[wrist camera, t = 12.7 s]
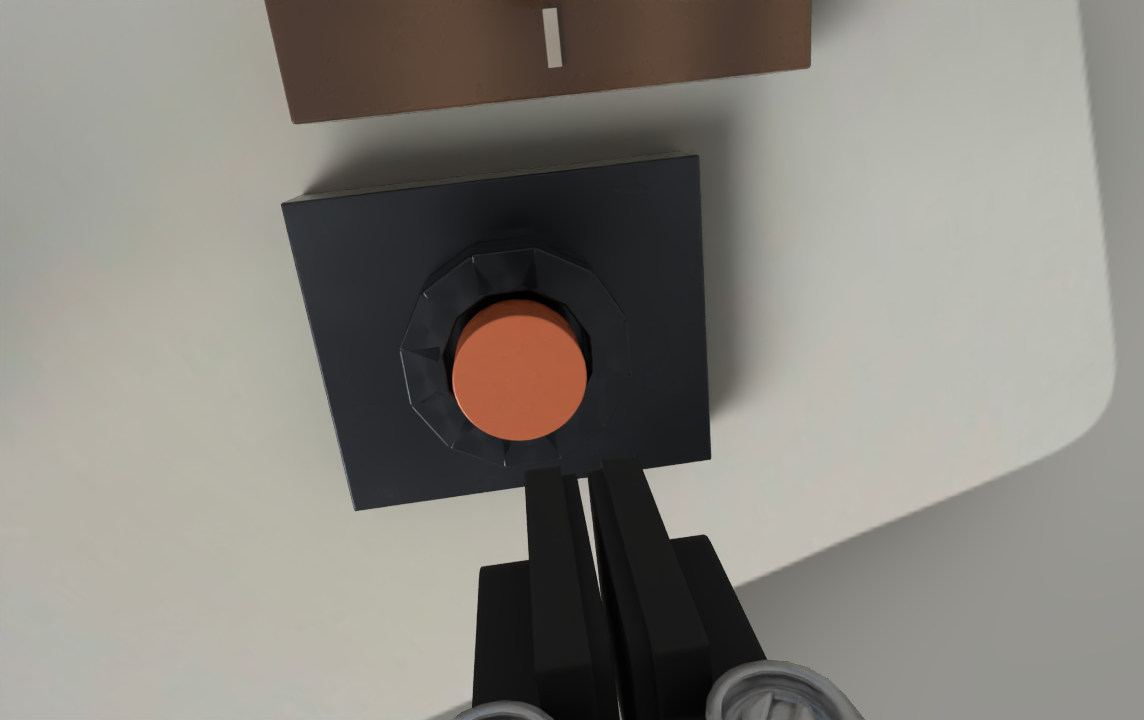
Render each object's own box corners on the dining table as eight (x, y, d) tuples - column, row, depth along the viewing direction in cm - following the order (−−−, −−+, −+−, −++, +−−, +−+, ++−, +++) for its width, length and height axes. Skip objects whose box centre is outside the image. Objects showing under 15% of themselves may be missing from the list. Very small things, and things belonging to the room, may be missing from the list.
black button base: (680, 150, 23) (718, 158, 19) (694, 432, 26) (728, 486, 22) (300, 194, 22) (260, 211, 18) (365, 479, 25) (343, 543, 21)
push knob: (573, 291, 20) (580, 306, 18) (585, 406, 21) (592, 431, 20) (445, 307, 20) (441, 324, 18) (465, 423, 21) (463, 449, 19)
